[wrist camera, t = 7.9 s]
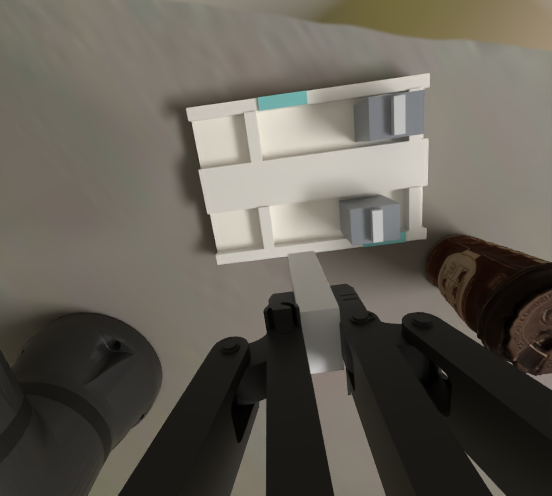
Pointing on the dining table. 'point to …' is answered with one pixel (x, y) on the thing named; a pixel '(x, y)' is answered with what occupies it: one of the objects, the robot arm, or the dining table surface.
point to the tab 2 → (370, 219)
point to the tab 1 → (389, 116)
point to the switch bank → (302, 169)
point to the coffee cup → (498, 297)
